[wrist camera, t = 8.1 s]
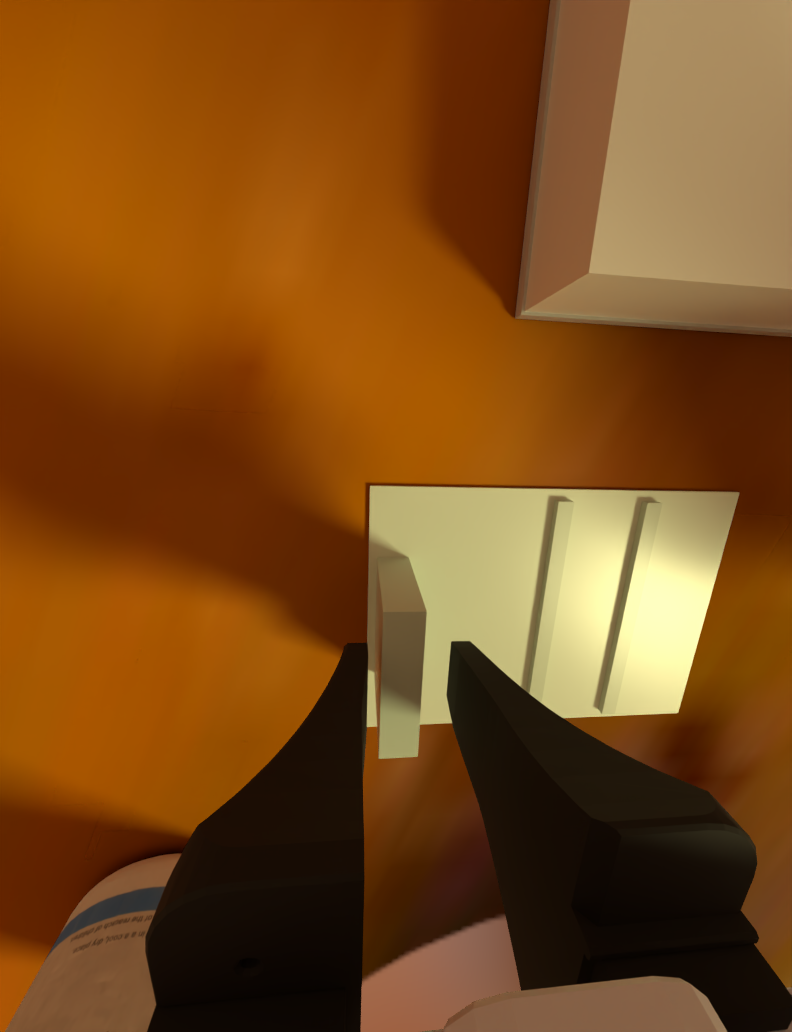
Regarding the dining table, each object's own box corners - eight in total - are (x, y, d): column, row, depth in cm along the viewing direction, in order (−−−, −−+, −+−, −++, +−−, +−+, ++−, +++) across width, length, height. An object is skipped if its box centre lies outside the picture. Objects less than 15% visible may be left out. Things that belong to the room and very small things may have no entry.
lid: (720, 488, 16) (872, 521, 11) (664, 700, 18) (766, 797, 14) (369, 481, 14) (374, 516, 10) (365, 712, 17) (367, 825, 12)
